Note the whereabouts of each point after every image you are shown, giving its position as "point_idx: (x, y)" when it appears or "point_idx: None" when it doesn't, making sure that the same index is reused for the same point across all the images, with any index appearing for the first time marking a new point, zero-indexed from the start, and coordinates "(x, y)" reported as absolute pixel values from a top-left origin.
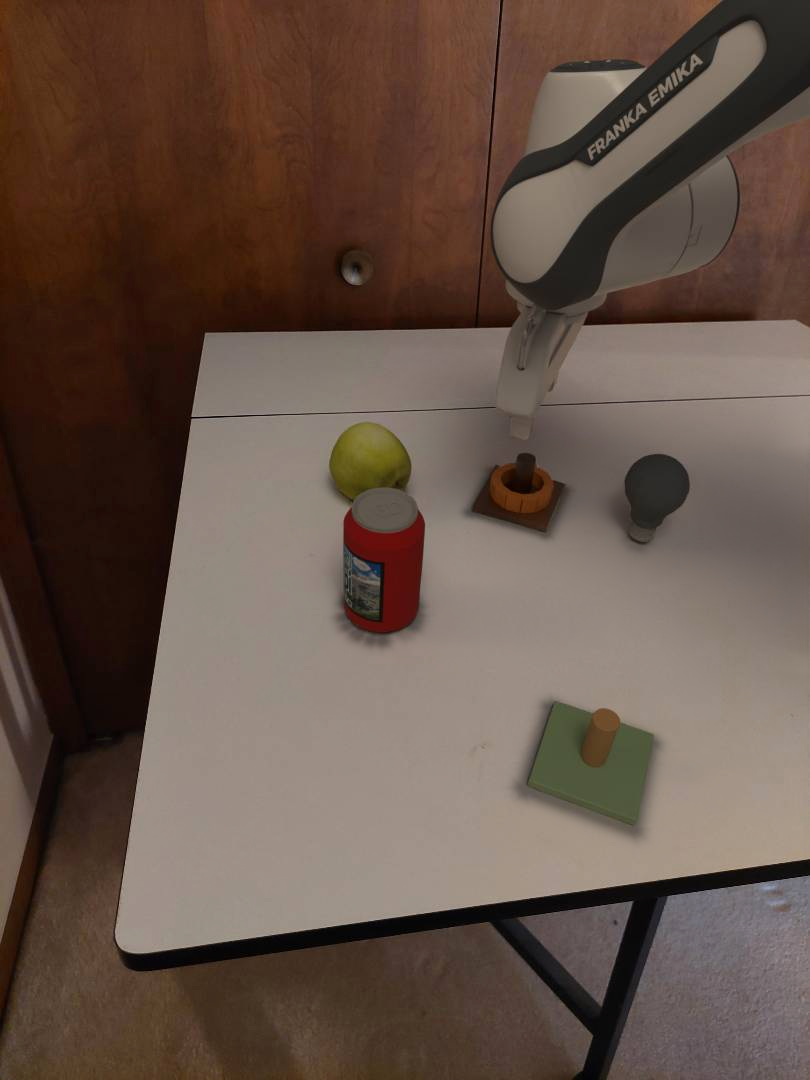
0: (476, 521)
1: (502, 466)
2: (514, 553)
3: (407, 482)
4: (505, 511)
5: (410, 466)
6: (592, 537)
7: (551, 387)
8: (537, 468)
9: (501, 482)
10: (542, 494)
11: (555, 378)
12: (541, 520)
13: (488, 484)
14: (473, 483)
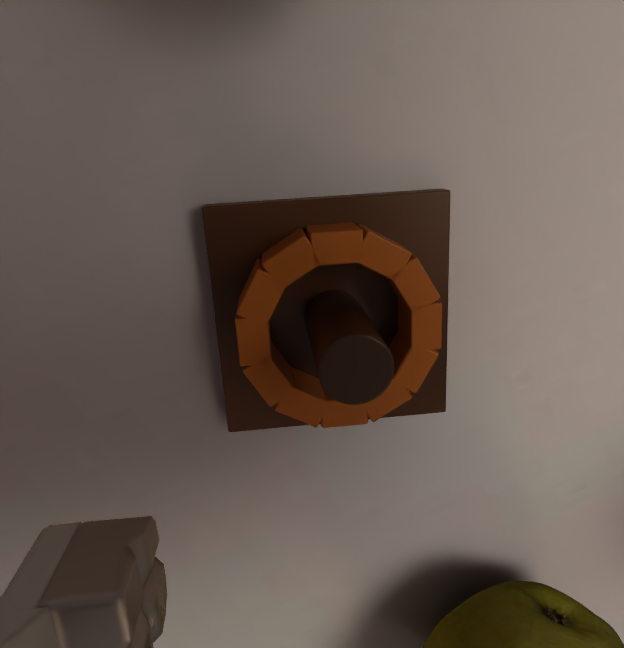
0: (472, 376)
1: (299, 416)
2: (561, 240)
3: (511, 594)
4: None
5: (538, 638)
6: (402, 41)
7: (147, 537)
8: (249, 315)
9: None
10: (384, 251)
11: (100, 579)
12: (428, 216)
13: None
14: (319, 445)
